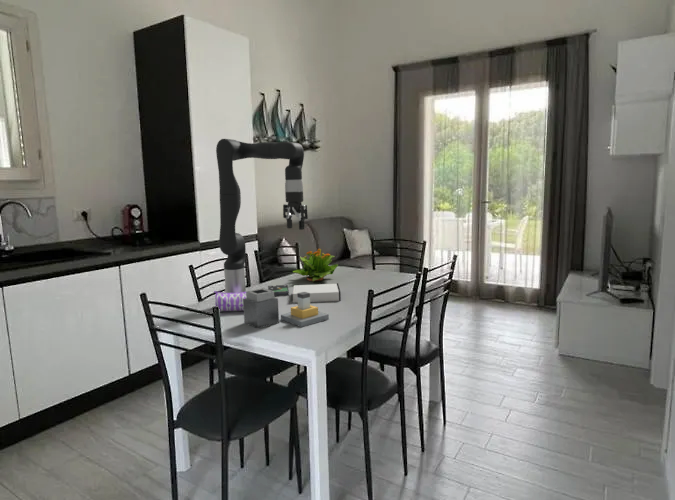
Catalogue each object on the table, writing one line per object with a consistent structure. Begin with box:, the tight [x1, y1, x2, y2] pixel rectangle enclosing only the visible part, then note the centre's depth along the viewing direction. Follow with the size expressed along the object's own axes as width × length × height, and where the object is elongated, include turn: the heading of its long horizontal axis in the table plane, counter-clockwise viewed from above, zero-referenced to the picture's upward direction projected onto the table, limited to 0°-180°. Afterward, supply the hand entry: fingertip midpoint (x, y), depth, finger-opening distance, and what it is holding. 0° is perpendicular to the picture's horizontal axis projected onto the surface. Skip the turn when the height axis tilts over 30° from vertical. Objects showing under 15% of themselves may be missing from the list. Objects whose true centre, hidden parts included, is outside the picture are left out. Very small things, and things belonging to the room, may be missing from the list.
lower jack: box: [280, 304, 330, 328], centre depth 186 cm, size 14×14×5 cm
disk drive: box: [267, 284, 290, 297], centre depth 233 cm, size 10×3×15 cm
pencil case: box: [213, 290, 247, 313], centre depth 202 cm, size 22×9×10 cm, turn 102°
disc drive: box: [292, 282, 342, 303], centre depth 222 cm, size 18×22×5 cm
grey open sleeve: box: [243, 287, 280, 329], centre depth 182 cm, size 10×10×13 cm
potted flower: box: [292, 248, 339, 283], centre depth 261 cm, size 25×24×18 cm
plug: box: [297, 292, 311, 310], centre depth 185 cm, size 4×4×9 cm
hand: (295, 228), depth 194 cm, fingers open, 8 cm apart
